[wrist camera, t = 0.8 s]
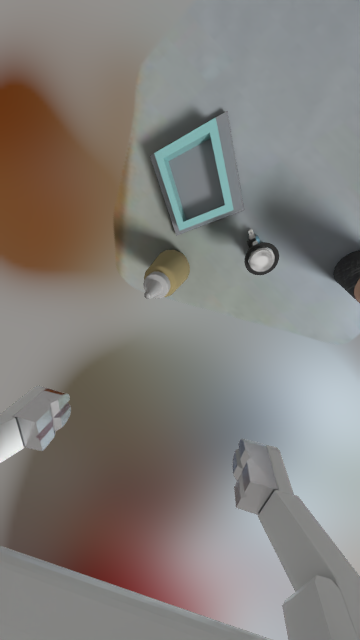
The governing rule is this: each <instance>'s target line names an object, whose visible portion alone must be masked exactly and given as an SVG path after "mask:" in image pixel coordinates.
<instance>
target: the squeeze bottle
mask: <svg viewBox="0 0 360 640" xmlns="http://www.w3.org/2000/svg"><path fill="white" fill-rule="evenodd" d="M189 272H190V269H189V263H188V261H187V259H186V257H185V256H184V255H183V254H182V253H180V252H178V251H176V250H166V251H164V252H162V253H160V254H159V256H158V257H157V258H156V259H155V261H154V262H153V263H152V264H151V266H150V267H149V268H148V270H147V271H146V272H145V277H144V289H145V291H146V292H145V298H147V299H150V298H152V297H153V298H158V299H160V298H163V297H167V296H170V295H172V293H173V292H174V291H175V290H176V289H177V288H178V287H179V286H180V285H181V284H182V283H183V282H184V281H185V280H186V279H187V278H188V275H189Z"/></svg>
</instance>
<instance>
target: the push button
mask: <svg viewBox="0 0 360 640" xmlns="http://www.w3.org/2000/svg"><path fill="white" fill-rule="evenodd" d="M248 232H249V235H250V236H249V238H250V239H249V241H247V243H248V245H249V248H250V249H248V252H247V253H246V256H245V266H246V268H247V270H248V271H249V272H250V273H252V274H255V275H264V274H267V273H269V272H270V271H272V270H273V269H274V268H275V267H276V265H277V263H278V260H279V253H278V250H277V249H276V247H275V246H274V245H272V244H270V243H265V242H263V243H260V240H259V237H258V236H255V234H254V233H253V230H252V229H250V230H248ZM250 232H252V233H250ZM267 247H268V248H270V249H272V251H273V252H272V251H271V250H270V249H268V248H267ZM249 256H250V259H249ZM248 259H249V263H248ZM249 264H250V265H249Z"/></svg>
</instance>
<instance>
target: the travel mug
mask: <svg viewBox="0 0 360 640" xmlns="http://www.w3.org/2000/svg"><path fill="white" fill-rule="evenodd" d="M334 277H335V279H336V281H337V282H338V283H339V284H340V285H341V286H342V287H343V288H344V289H345V290H346V291H347V292H348V293H349V294H350V295H351V296H353V297H354V298H355V299H356V300H357V301H358V302H359V303H360V251H356V252H353V253H350V254H349V255H347V256H345V257H344V258H343V259H341V260H340V262H339V263H338V264H337V266H336V268H335V270H334Z"/></svg>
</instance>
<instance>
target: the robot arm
mask: <svg viewBox="0 0 360 640" xmlns="http://www.w3.org/2000/svg"><path fill="white" fill-rule="evenodd" d="M69 399H70V398H69V394H66V393H62V392H59V391H55V390H52V389H48V388H45V387H41V386H36V387H34V388H32V389H31V390H30V391H29V392H27V393H26V394H25V395H24V396H22V397H21V398H20V399H19V400H18V401H16V402H15V403H14V404H12V405H11V406H10V407H9V408H7V409H6V410H5V411H4V412H3V413H0V463H1V462H2V461H4V460H6V459H7V458H9V457H10V456H12V455H14V454H15V453H17V452H18V451H20V450H21V449H23V448H24V447H27V448H31V449H35V450H39V451H43V450H44V449H45V448H46V447H47V445H48V444H49V443H50V442H51V440H52V439H53V438H54V437H55V431H56V430H58V429H60V428H62V427H63V426H64V424H65V423H66V422H67V420H68V418H69V416H70V412H71V406H70V405H69V404H68V401H69ZM233 475H234V477H235V479H236V480H237V482H236V485H235V487H234V490H235V501H236V508H239V509H242V510H245V511H248V512H251V513H254V514H257V515H258V517H259V520H260V522H261V523H262V526H263V528H264V530H265V532H266V534H267V536H268V538H269V540H270V542H271V543H272V546H273V547H274V549H275V552H276V553H277V555H278V557H279V559H280V562H281V564H282V565H283V567H284V570H285V572H286V574H287V576H288V578H289V580H290V582H291V584H292V586H293V588H294V590H295V593H294V594H293V595H291V596H290V597H289V598H288V599H286V600H285V602H284V604H283V605H282V607H283V612H284V618H285V623H286V629H287V634H288V639H289V640H360V576H359V575H358V573H357V572H356V571H355V569H354V568H353V567H352V566H351V564H350V563H349V562H348V560H347V559H346V558H345V556H344V555H343V554H342V553H341V551H340V550H339V549H338V547H337V546H336V545H335V543H334V542H333V541H332V540H331V538H330V537H329V536H328V534H327V533H326V532H325V530H324V529H323V528H322V527H321V525H320V524H319V523H318V521H317V520H316V519H315V517H314V516H313V515H312V514H311V512H310V511H309V510H308V508H307V507H306V506H305V504H304V503H303V502H302V501H301V499H300V498H299V497H298V496H296V495H294V493H293V490H292V487H291V484H290V481H289V478H288V475H287V472H286V469H285V466H284V463H283V460H282V457H281V454H280V451H279V449H278V448H276V447H272V446H268V445H265V444H262V443H258V442H254V441H249V440H245V439H241V440H240V441H239V449H237V450H236V451H235V453H234V457H233ZM0 640H271V639H268V638H266V637H263V636H260V635H257V634H254V633H251V632H249V631H246V630H243V629H240V628H237V627H234V626H231V625H228V624H225V623H222V622H220V621H217V620H214V619H211V618H208V617H205V616H202V615H199V614H196V613H193V612H191V611H188V610H185V609H182V608H179V607H176V606H173V605H170V604H167V603H165V602H161V601H159V600H156V599H153V598H150V597H147V596H144V595H141V594H138V593H135V592H133V591H130V590H127V589H124V588H121V587H118V586H115V585H112V584H109V583H107V582H104V581H101V580H98V579H95V578H92V577H89V576H86V575H83V574H80V573H78V572H74V571H72V570H69V569H66V568H63V567H60V566H57V565H54V564H52V563H49V562H45V561H43V560H40V559H37V558H34V557H31V556H28V555H25V554H23V553H19V552H17V551H13V550H11V549H8V548H5V547H2V546H0Z"/></svg>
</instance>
